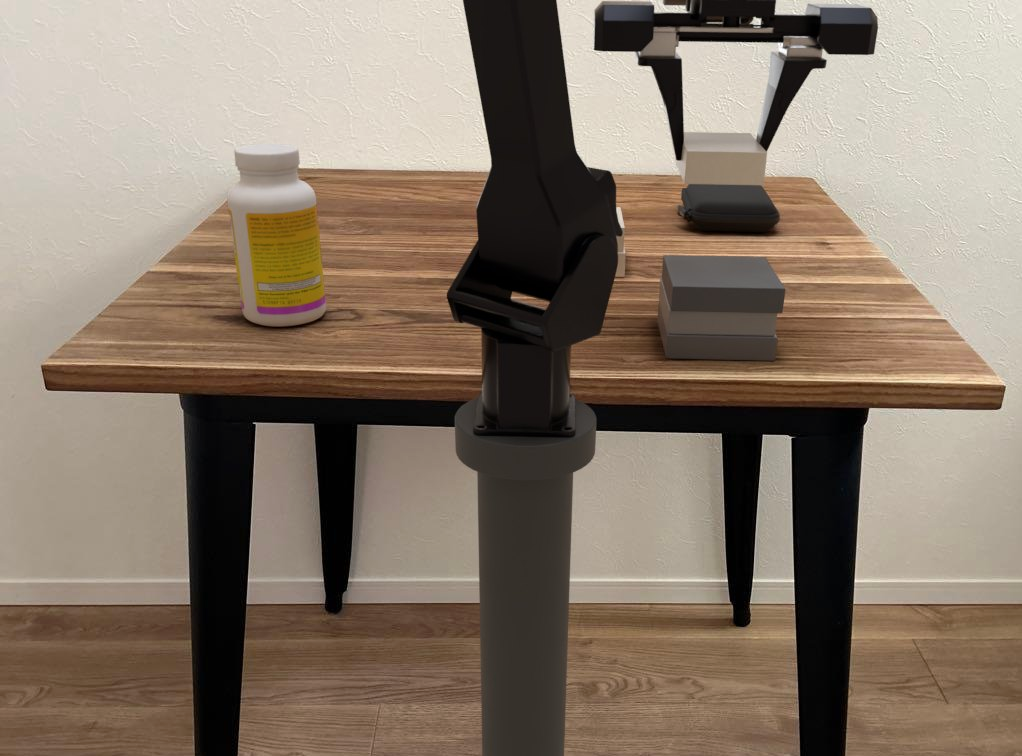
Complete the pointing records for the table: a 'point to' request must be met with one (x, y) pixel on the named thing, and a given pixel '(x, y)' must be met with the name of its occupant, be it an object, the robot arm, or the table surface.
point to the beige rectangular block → (722, 159)
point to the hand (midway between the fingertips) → (718, 160)
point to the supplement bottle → (275, 238)
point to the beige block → (621, 247)
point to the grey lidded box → (719, 307)
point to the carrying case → (728, 208)
